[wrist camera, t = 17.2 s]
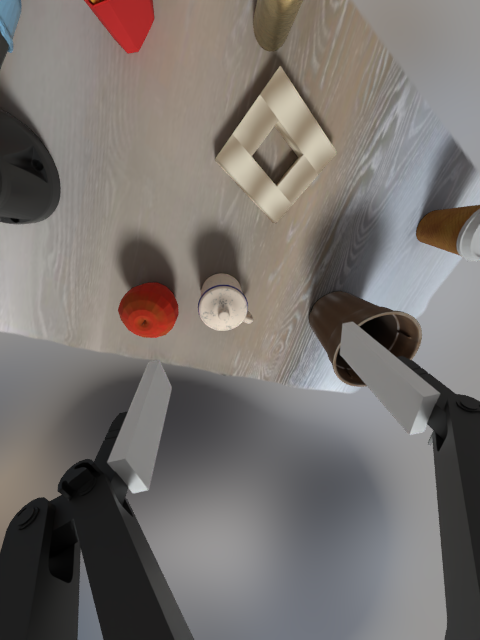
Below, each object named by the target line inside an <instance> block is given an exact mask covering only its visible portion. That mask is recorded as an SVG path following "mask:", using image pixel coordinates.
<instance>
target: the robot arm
mask: <svg viewBox="0 0 480 640" xmlns="http://www.w3.org/2000/svg"><path fill="white" fill-rule="evenodd" d="M20 14H21V0H0V69H1V66H2V64H3V61H4V59H5V56H6V53H7V51H8V52H10V53H11V52H12V51H13V41H12V39H13V36H14V33H15V30H16V27H17V24H18V20H19V17H20ZM59 199H60V181H59V176H58V172H57V169H56V167H55V164H54V162H53V160H52V158H51V156H50V154H49V153H48V151H47V149H46V148H45V147H44V145H43V144H42V142H41V141H40V140H39V139H38V138H37V136H36V135H35V134H34V133H33V132H32V131H31V130H30V129H29V128H28V127H27V126H25V125H24V124H23V123H22V122H20V121H19V120H18V119H16V118H15V117H13V116H12V115H10V114H8V113H7V112H5V111H3V110H1V109H0V222H3V223H9V224H29V223H36V222H40V221H42V220H44V219H46V218H48V217H49V216H50V215H51V214H52V213H53V212H54V211H55V209H56V207H57V205H58V202H59ZM340 355H341V356H342V357H343V359H344V360H345V361H346V362H347V363H348V364H349V365H350V367H351V368H352V369H353V370H354V371H355V372H356V374H357V375H358V376H359V377H360V378H361V379H362V381H363V382H364V383H365V384H366V385H367V386H368V388H369V389H370V390H371V391H372V392H373V393H374V394H375V396H376V397H377V398H378V399H379V400H380V402H382V404H383V405H384V406H385V407H386V408H387V410H388V411H389V412H390V413H391V414H392V415H393V417H394V418H395V419H396V420H397V421H398V422H399V424H400V425H401V426H402V427H403V428H404V429H405V431H406V432H407V433H408V434H409V435H412V434H417V433H421V432H424V431H425V428H426V426H427V424H428V425H429V426H430V427H431V428H432V429H433V430H434V431H433V433H432V435H431V437H430V439H429V442H428V444H429V445H431V444H432V442H433V451H434V464H435V476H436V487H437V500H438V512H439V524H440V536H441V548H442V560H443V571H444V572H443V573H444V584H445V597H446V608H447V630H446V635H445V640H480V401H478V400H476V399H474V398H472V397H469V396H466V395H460V394H455V393H454V392H452V391H451V390H450V389H449V388H447V387H446V386H445V385H443V384H442V383H441V382H440V381H438V380H437V379H436V378H434V377H433V376H432V375H430V374H428V373H427V372H426V371H425V370H424V369H423V368H421V367H420V366H419V365H417V364H416V363H415V362H414V361H412V360H410V359H408V358H406V357H403V356H399V357H395V356H394V355H393V354H392V353H391V352H389V351H388V350H387V349H386V348H384V347H383V346H382V345H381V344H380V343H378V342H377V341H376V340H375V339H373V338H372V337H371V336H370V335H369V334H367V333H366V332H365V331H364V330H363V329H361V328H360V327H359V326H358V325H356V324H355V323H354V322H348V323H343V324H342V335H341V346H340ZM171 389H172V387H171V385H170V383H169V380H168V378H167V376H166V373H165V371H164V369H163V367H162V364H161V362H160V360H155V361H150V362H148V364H147V367H146V369H145V372H144V374H143V377H142V379H141V381H140V384H139V386H138V389H137V391H136V393H135V396H134V398H133V401H132V403H131V406H130V408H129V410H128V412H124V413H120V414H119V415H118V416H117V417H116V418H115V420H114V421H113V422H112V424H111V426H110V429H109V431H108V433H107V435H106V437H105V441H103V444H102V446H101V448H100V450H99V452H98V455H97V456H96V459H95V461H94V462H93V461H92V460H90V459H85V460H82V461H79V462H78V463H76V464H74V465H73V466H72V467H71V468H70V469H69V470H67V471H66V473H65V474H64V475H63V477H62V478H61V480H60V482H59V484H58V492H60V493H61V494H62V495H61V496H59V497H57V498H55V499H53V500H51V501H48V500H47V499H46V498H44V497H43V498H37V499H35V500H33V501H31V502H29V503H28V504H27V505H25V506H24V507H23V508H22V509H21V510H20V511H19V512H18V513H17V514H16V515H15V517H14V518H13V519H12V521H11V522H10V524H9V526H8V528H7V531H6V534H5V538H4V541H3V545H2V549H1V552H0V640H77V636H78V606H79V579H80V550H82V555H83V558H84V563H85V566H86V571H87V575H88V579H89V583H90V587H91V590H92V595H93V599H94V603H95V607H96V611H97V615H98V619H99V623H100V627H101V631H102V635H103V639H104V640H194V638H193V636H192V634H191V632H190V630H189V628H188V626H187V624H186V622H185V620H184V617H183V615H182V613H181V611H180V609H179V607H178V605H177V603H176V601H175V598H174V597H173V594H172V592H171V590H170V588H169V586H168V584H167V582H166V579H165V577H164V575H163V573H162V571H161V569H160V567H159V565H158V563H157V561H156V558H155V556H154V554H153V552H152V550H151V548H150V546H149V544H148V542H147V540H146V538H145V536H144V534H143V531H142V529H141V527H140V525H139V523H138V521H137V519H136V517H135V514H134V512H133V510H132V508H131V506H130V504H129V502H128V500H127V499H126V498H125V496H126V493H127V489H128V488H129V489H130V490H131V492H132V493H137V492H142V491H147V490H149V486H150V482H151V478H152V473H153V469H154V464H155V459H156V455H157V451H158V447H159V442H160V438H161V433H162V429H163V424H164V420H165V416H166V411H167V406H168V402H169V398H170V393H171Z"/></svg>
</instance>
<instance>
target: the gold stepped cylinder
mask: <svg viewBox="0 0 480 640" xmlns="http://www.w3.org/2000/svg"><path fill="white" fill-rule="evenodd" d="M302 1H303V0H257V4H256V9H255V13H254V20H253V28H254V34H255V37H256V40H257V42H258V43H259V45H260V46H261V47H262V48H263V49H264V50H266V51H276V50H278V49H279V48H280V47H281V46H282V45H283V44H284V42H285V40H286V38H287V36H288V33H289V31H290V29H291V27H292V24H293V22H294V20H295V17H296V15H297V13H298V11H299V8H300V6H301V4H302Z"/></svg>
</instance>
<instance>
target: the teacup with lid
mask: <svg viewBox="0 0 480 640" xmlns="http://www.w3.org/2000/svg"><path fill="white" fill-rule="evenodd" d="M198 312H199V315H200V318H201V319H202V321H203V322H204V323H205V324H206V325H207V326H209V327H210V328H212V329H215V330H220V331H226V330H230V329H233V328H235V327H237V326H238V325H240V324H241V323H242V322H243V321H244V322H245V323H249V324H250V323H252V321H253V317H252V315H251V314H250V312H249V311H248V303H247V299H246V297H245V296H244V294H243V292H242V289H241V286H240V284H239V282H238V281H237V280H236V279H235V278H234V277H232V276H231V275H228V274H224V273H219V274H215V275H212V276H210V277H209V278H208V279H207V280H206V281H205V282H204V284H203V286H202V291H201V298H200V300H199V303H198Z"/></svg>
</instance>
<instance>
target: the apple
mask: <svg viewBox="0 0 480 640" xmlns="http://www.w3.org/2000/svg"><path fill="white" fill-rule="evenodd" d="M118 312H119V315H120V318H121V320H122V322H123V323H124V324H125V326H126V327H127V328H128V330H129V331H131V332H133V333H134V334H136V335H139V336H142V337H150V338H156V337H159V336H163V335H166V334H167V333H168V332H169V331H170V330H171V329H172V328H173V326H174V324H175V321H176V319H177V317H178V304H177V301H176V299H175V297H174V295H173V293H172V292H171V291H170V290H169V289H168V288H167V287H166V286H164V285H162V284H159V283H145V284H142V285H139V286H136V287H133V288H132V289H131V290H130V291H128V292H127V293H126V294H125V295H124V297H123V298H122V300H121V302H120V305H119V308H118Z"/></svg>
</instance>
